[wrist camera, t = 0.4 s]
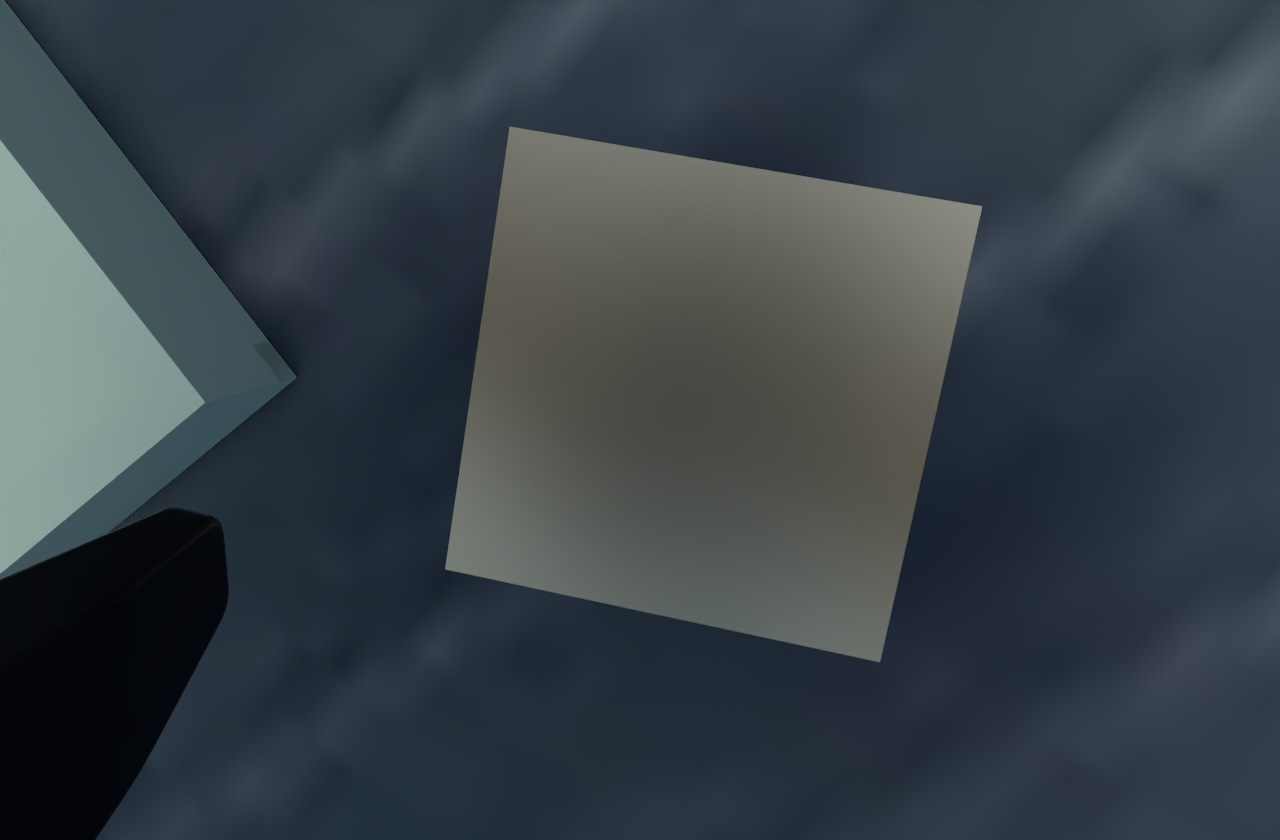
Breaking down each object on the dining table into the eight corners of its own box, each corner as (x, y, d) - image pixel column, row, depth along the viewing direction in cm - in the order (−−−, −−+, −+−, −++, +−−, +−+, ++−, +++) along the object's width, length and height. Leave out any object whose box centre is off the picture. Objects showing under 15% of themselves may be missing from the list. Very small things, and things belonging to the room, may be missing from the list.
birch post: (833, 435, 24) (880, 662, 11) (628, 396, 24) (444, 569, 11) (878, 224, 23) (981, 205, 10) (664, 188, 23) (509, 126, 11)
